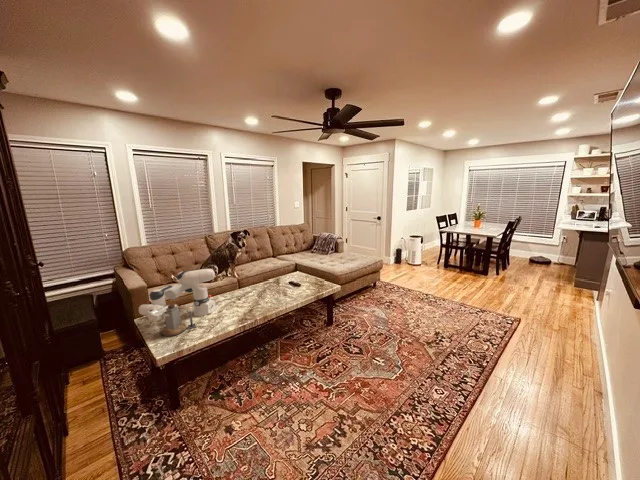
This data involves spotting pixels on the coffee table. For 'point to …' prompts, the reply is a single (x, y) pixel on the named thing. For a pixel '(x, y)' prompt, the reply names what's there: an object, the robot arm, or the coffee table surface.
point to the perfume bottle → (172, 317)
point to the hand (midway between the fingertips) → (173, 312)
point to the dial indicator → (190, 310)
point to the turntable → (174, 332)
